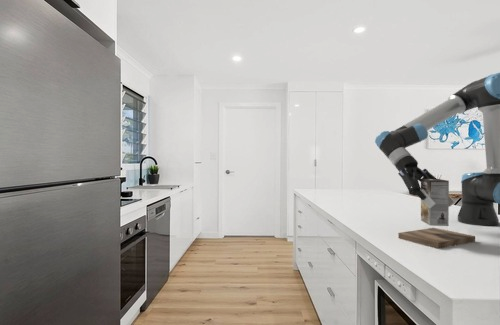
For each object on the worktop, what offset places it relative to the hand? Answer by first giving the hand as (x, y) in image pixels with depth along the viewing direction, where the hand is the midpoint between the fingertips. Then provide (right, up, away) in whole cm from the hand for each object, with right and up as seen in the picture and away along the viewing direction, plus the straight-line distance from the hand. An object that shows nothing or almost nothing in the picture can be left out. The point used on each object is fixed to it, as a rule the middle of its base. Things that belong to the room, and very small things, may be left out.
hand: (442, 205), depth 104 cm
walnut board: (-1, -13, +3) cm, 13 cm away
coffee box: (-1, -7, +3) cm, 8 cm away
